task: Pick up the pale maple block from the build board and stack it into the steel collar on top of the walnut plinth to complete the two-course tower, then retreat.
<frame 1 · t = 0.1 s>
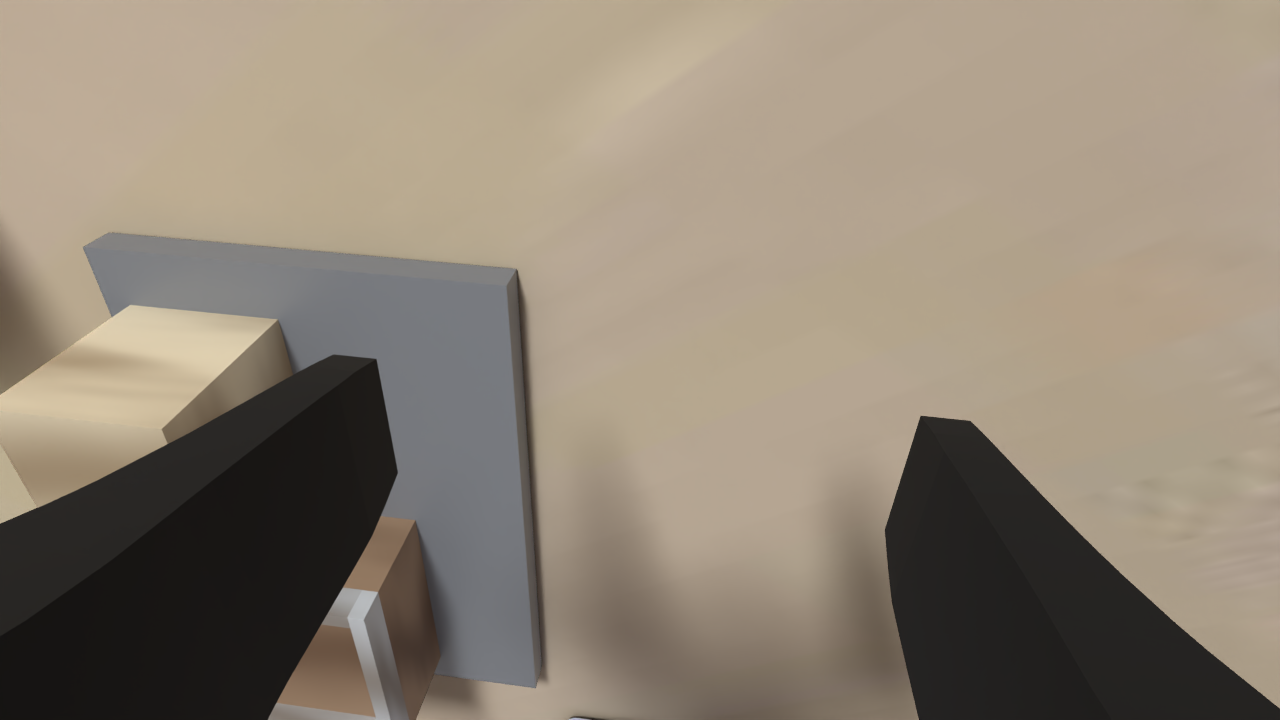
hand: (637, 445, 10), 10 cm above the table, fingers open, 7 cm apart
build board: (362, 486, 26), on the table
maple block: (225, 376, 22), point 1 cm above the table, touching build board
walnut plinth: (343, 560, 28), resting on build board
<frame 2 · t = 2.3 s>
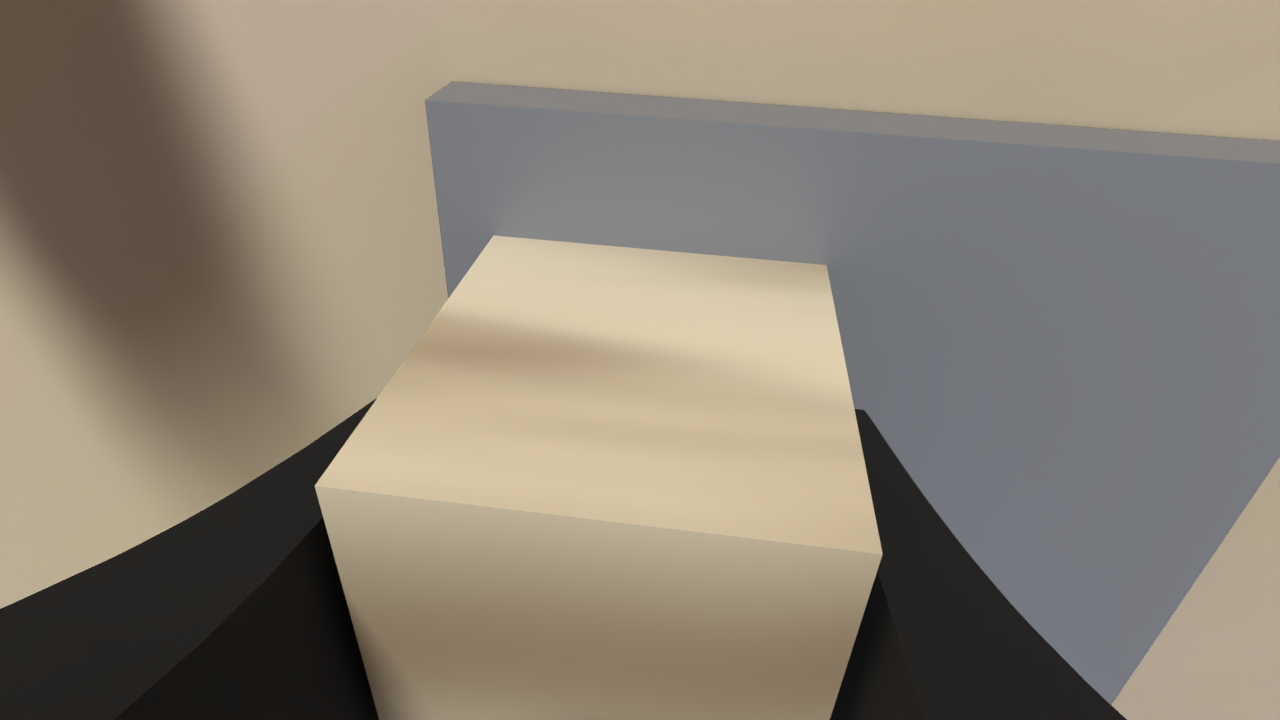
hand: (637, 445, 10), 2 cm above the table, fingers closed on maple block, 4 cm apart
build board: (795, 580, 15), on the table
maple block: (649, 386, 11), point 1 cm above the table, touching build board, gripper
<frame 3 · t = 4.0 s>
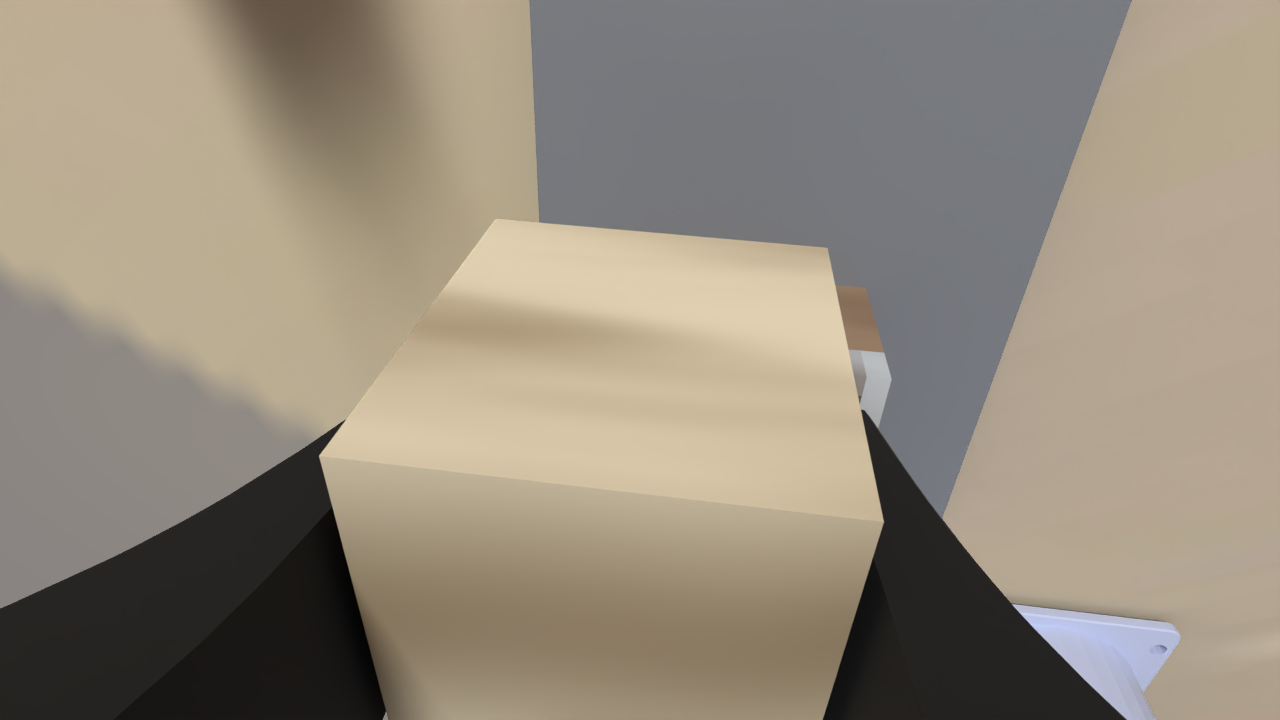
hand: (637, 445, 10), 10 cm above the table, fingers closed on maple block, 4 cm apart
build board: (775, 253, 19), on the table
maple block: (650, 370, 11), point 9 cm above the table, touching gripper
walnut plinth: (705, 373, 22), resting on build board
when the fingers open (7 cm above the table, at t = 5.7 s): maple block drops 1 cm, resting on walnut plinth.
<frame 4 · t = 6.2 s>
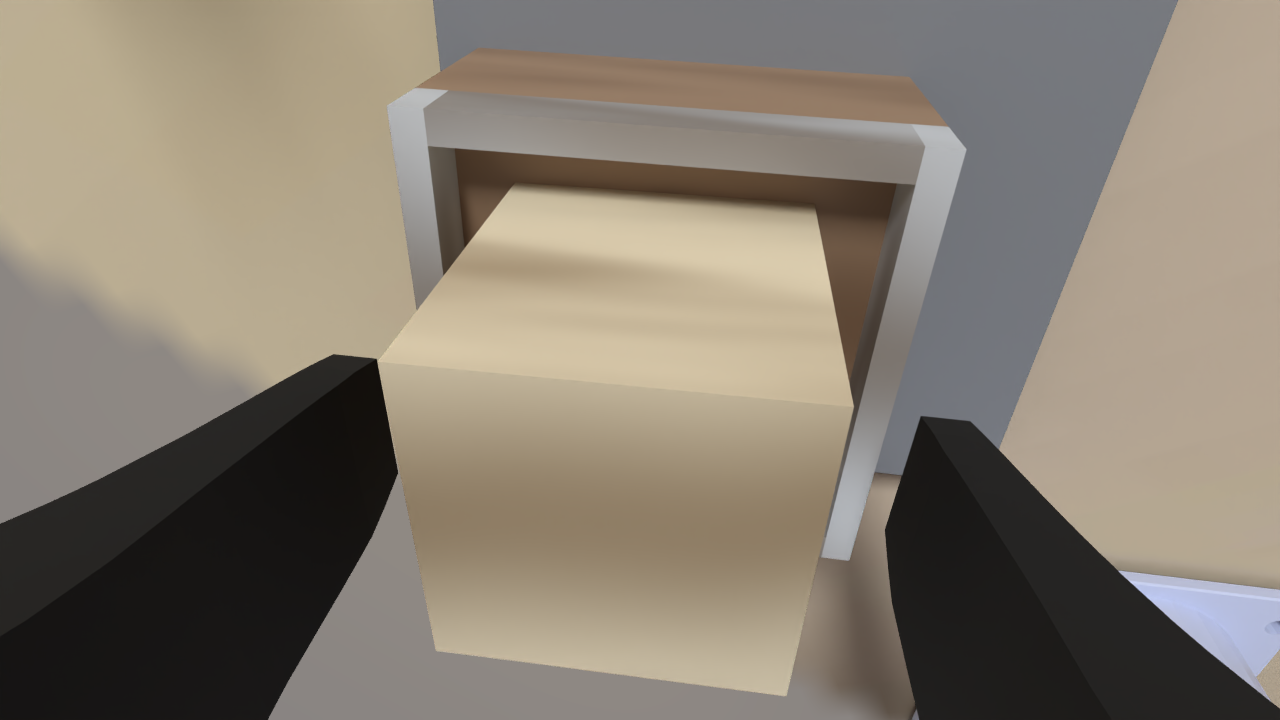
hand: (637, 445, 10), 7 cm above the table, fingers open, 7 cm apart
build board: (776, 41, 13), on the table
maple block: (656, 322, 12), point 4 cm above the table, touching walnut plinth
walnut plinth: (678, 238, 16), resting on build board
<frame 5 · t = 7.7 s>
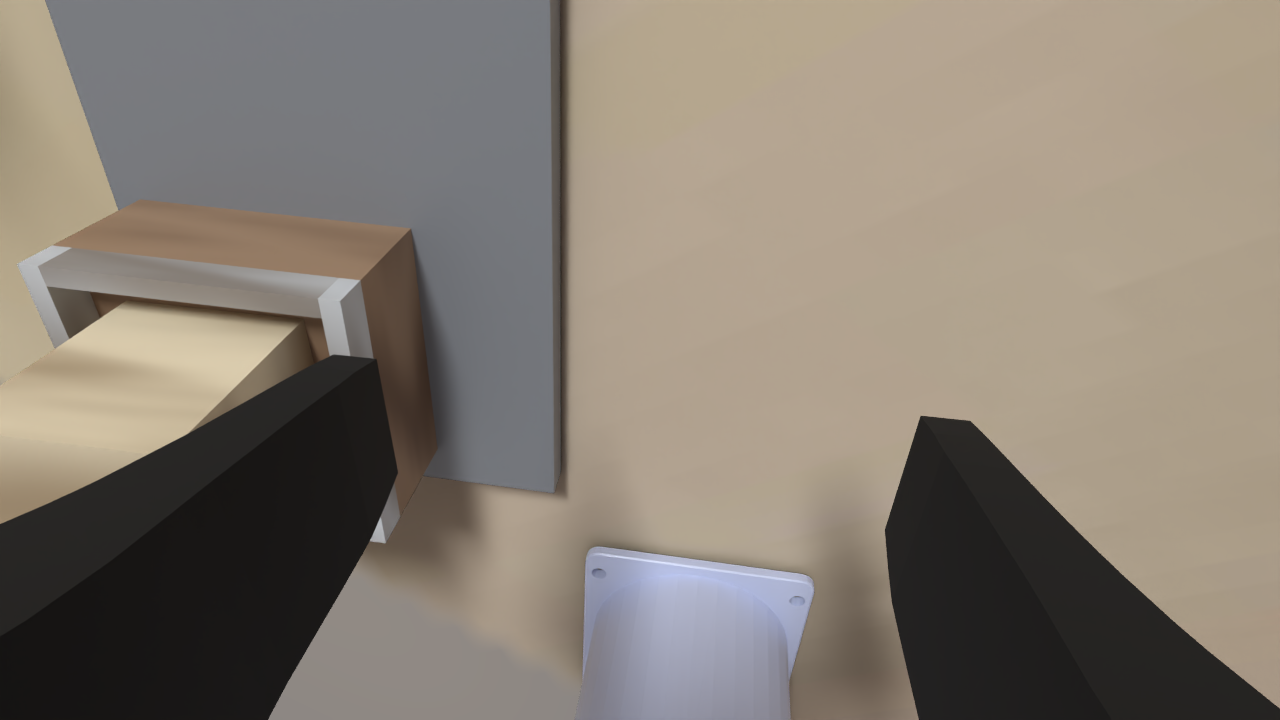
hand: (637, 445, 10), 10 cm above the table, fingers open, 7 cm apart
build board: (343, 196, 20), on the table
maple block: (237, 386, 19), point 4 cm above the table, touching walnut plinth
walnut plinth: (317, 317, 22), resting on build board
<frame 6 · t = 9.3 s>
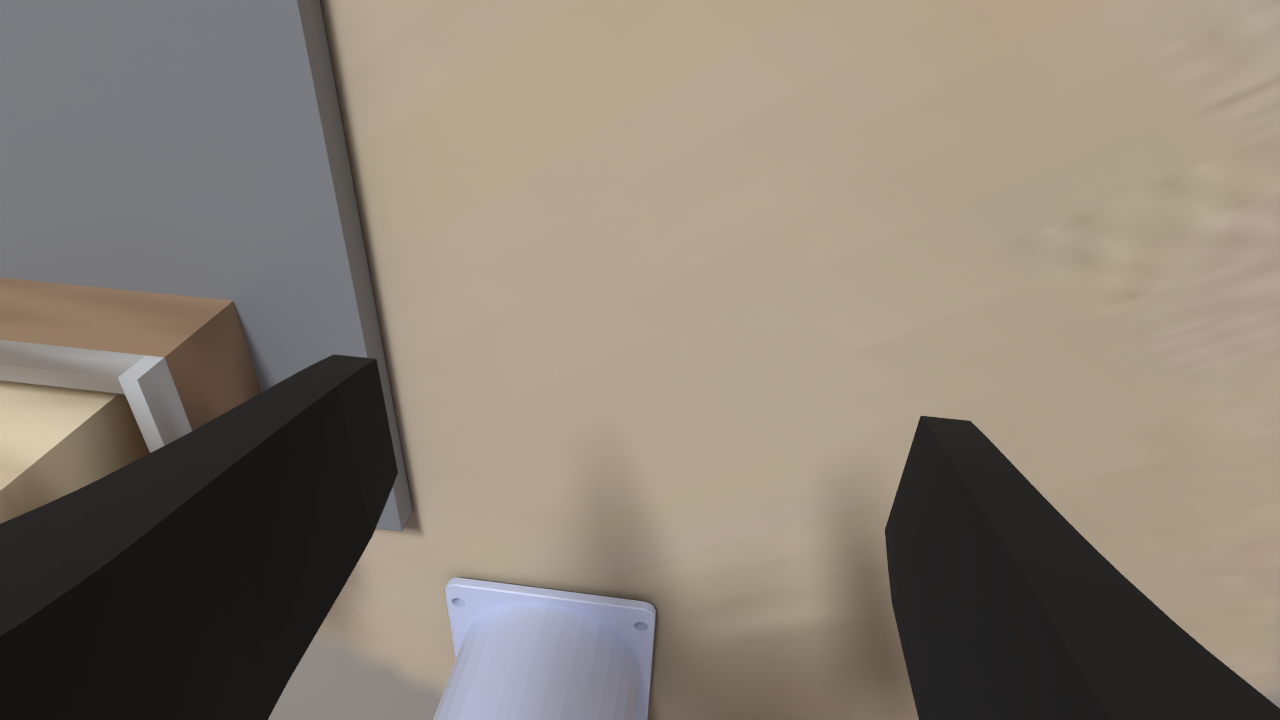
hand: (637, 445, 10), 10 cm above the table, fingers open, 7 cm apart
build board: (179, 270, 22), on the table
maple block: (77, 447, 21), point 4 cm above the table, touching walnut plinth
walnut plinth: (173, 375, 24), resting on build board
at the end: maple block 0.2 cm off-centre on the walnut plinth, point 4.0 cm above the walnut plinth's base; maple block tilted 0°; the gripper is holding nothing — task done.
